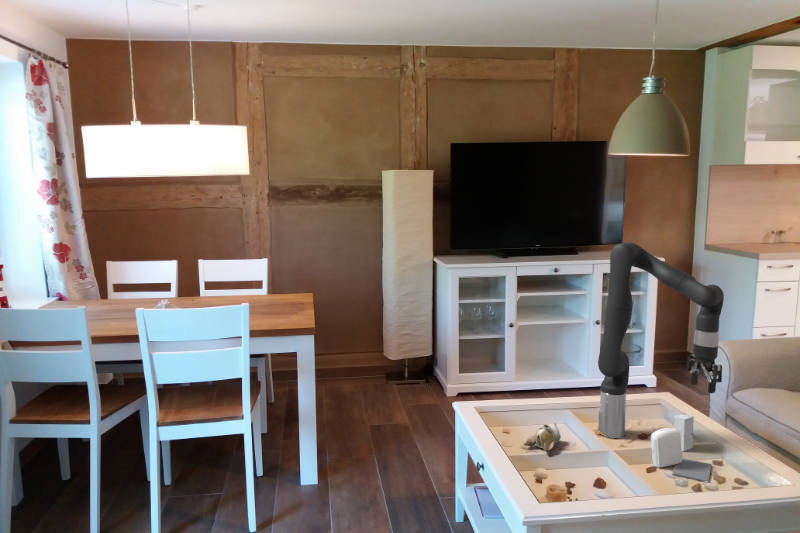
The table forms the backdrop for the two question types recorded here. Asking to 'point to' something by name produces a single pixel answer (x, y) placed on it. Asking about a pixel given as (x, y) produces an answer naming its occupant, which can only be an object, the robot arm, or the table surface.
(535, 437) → the ceramic sculpture
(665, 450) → the photo printer
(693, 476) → the mat
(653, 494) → the table surface
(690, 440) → the skincare box
